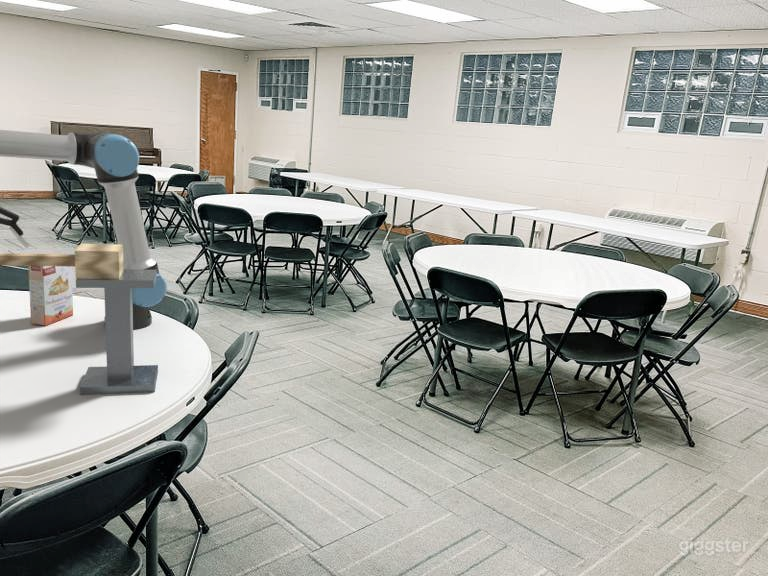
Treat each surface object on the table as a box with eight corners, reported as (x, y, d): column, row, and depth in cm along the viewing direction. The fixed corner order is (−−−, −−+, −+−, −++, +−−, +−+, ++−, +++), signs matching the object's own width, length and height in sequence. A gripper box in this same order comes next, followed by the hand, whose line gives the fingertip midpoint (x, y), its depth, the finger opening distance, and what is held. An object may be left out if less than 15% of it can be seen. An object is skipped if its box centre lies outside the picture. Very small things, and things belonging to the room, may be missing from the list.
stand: (79, 394, 160) (74, 280, 153) (88, 373, 173) (84, 267, 166) (154, 391, 165) (153, 281, 158) (158, 371, 178) (156, 268, 171)
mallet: (-7, 277, 150) (-10, 248, 148) (4, 268, 158) (2, 241, 157) (119, 278, 158) (118, 251, 156) (123, 270, 166) (122, 244, 165)
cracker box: (46, 326, 207) (42, 264, 202) (30, 324, 208) (26, 262, 203) (74, 315, 220) (72, 257, 215) (59, 313, 221) (56, 255, 216)
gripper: (-103, 225, 156) (-40, 290, 167) (-10, 171, 162) (46, 238, 172) (-98, 219, 163) (-37, 282, 173) (-8, 168, 168) (46, 232, 179)
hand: (5, 260), depth 173 cm, fingers open, 13 cm apart
